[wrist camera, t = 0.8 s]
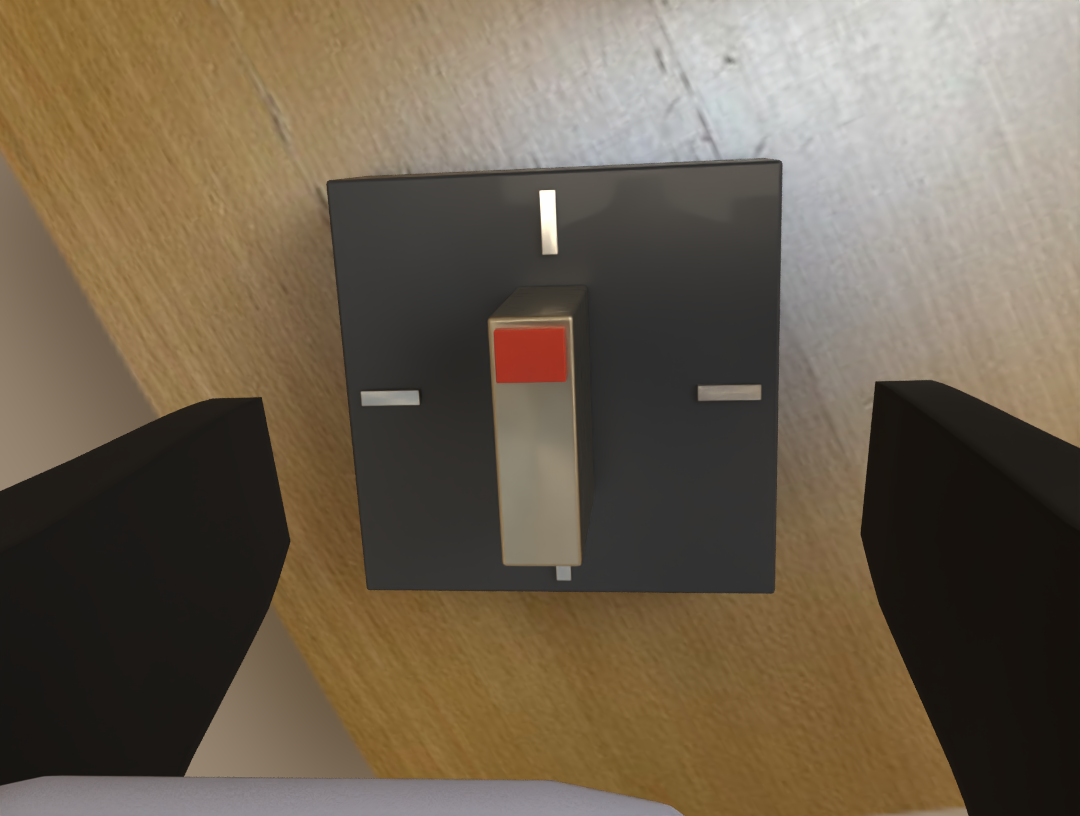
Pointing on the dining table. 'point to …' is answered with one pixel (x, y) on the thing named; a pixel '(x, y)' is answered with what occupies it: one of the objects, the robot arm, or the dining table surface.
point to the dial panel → (615, 367)
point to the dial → (542, 424)
